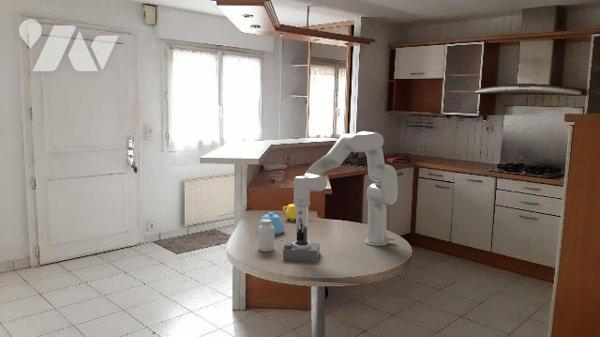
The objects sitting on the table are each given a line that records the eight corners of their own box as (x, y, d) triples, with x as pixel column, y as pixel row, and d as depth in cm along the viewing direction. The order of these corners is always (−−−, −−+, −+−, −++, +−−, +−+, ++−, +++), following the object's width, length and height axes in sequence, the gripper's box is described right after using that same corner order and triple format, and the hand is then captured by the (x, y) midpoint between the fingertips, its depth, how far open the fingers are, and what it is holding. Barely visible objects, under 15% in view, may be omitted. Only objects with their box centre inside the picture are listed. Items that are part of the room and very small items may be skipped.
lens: (307, 244, 224) (307, 226, 223) (306, 248, 219) (306, 228, 218) (297, 244, 225) (297, 225, 224) (295, 247, 220) (295, 228, 219)
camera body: (319, 253, 228) (319, 240, 227) (316, 261, 216) (316, 247, 215) (287, 251, 230) (287, 238, 229) (282, 259, 218) (282, 245, 217)
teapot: (307, 216, 302) (307, 200, 301) (312, 220, 292) (312, 203, 290) (280, 218, 298) (280, 201, 296) (284, 222, 287) (284, 205, 286)
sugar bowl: (268, 237, 254) (268, 217, 252) (252, 231, 265) (252, 212, 264) (289, 233, 263) (289, 213, 262) (273, 227, 275) (273, 208, 273)
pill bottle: (268, 252, 228) (268, 223, 226) (255, 250, 232) (254, 220, 230) (277, 248, 235) (277, 219, 232) (264, 246, 239) (264, 217, 237)
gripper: (307, 206, 210) (307, 243, 213) (311, 198, 227) (311, 232, 229) (291, 205, 211) (291, 242, 214) (296, 198, 228) (296, 232, 231)
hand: (301, 237), depth 222 cm, fingers open, 9 cm apart
